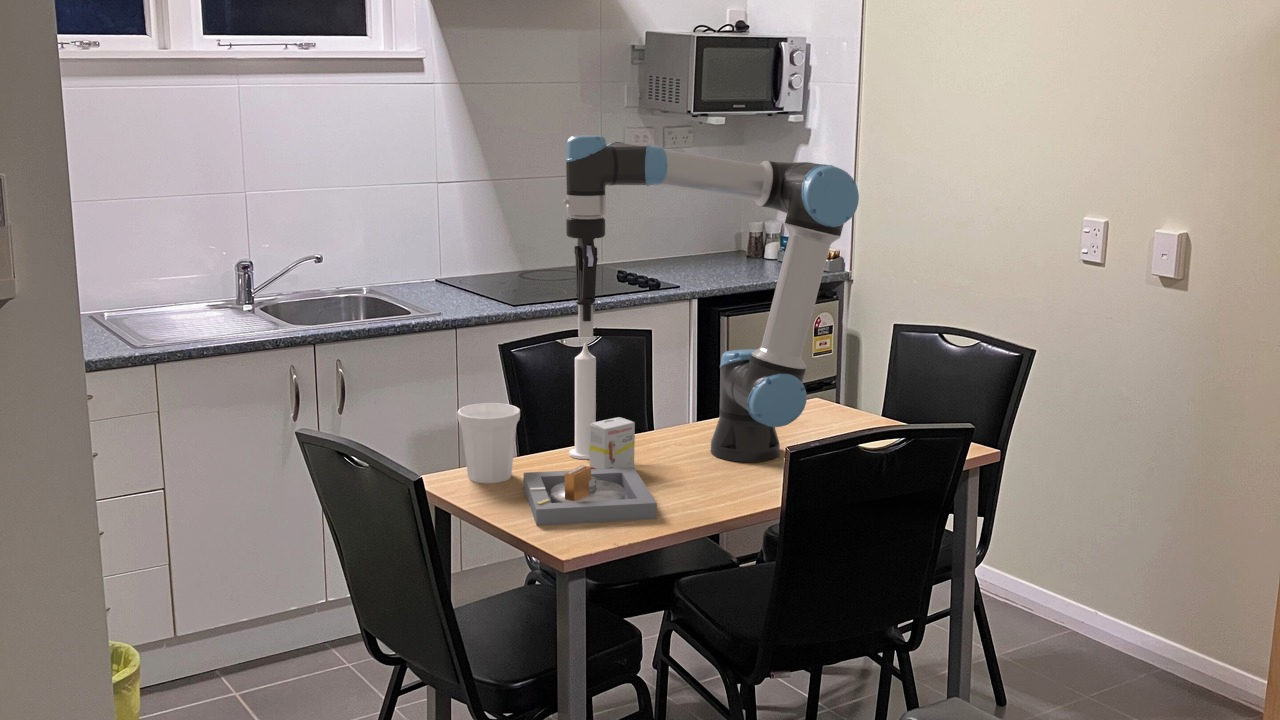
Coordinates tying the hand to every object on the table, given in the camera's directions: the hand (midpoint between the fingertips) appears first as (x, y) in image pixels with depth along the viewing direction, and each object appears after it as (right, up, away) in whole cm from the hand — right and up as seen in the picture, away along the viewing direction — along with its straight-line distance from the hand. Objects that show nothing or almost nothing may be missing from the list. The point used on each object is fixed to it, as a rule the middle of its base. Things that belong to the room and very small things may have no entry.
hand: (585, 336), depth 246 cm
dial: (+1, -32, -9) cm, 33 cm away
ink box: (+5, -29, +11) cm, 31 cm away
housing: (+1, -33, -9) cm, 34 cm away
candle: (-1, -26, +26) cm, 37 cm away
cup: (-20, -30, +6) cm, 36 cm away
